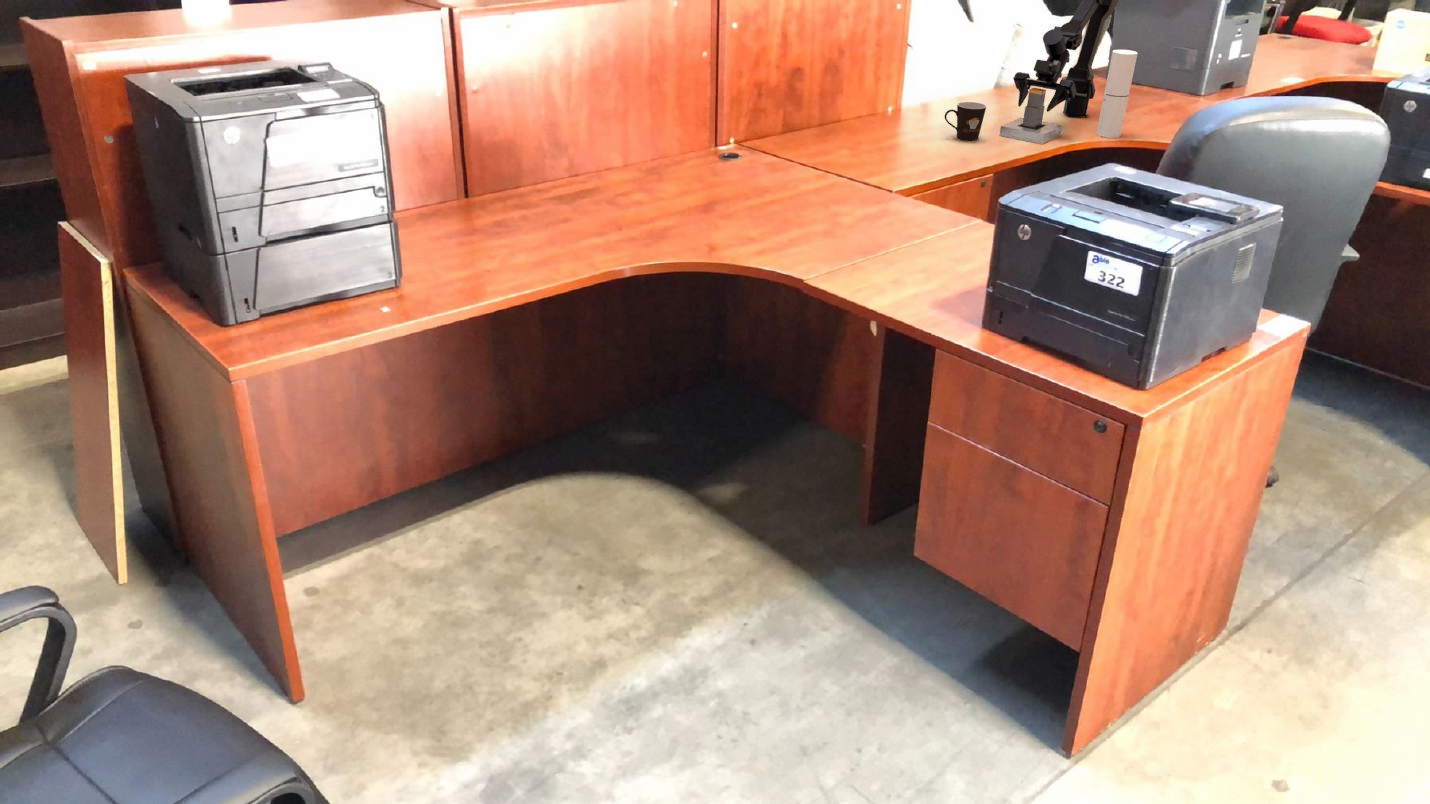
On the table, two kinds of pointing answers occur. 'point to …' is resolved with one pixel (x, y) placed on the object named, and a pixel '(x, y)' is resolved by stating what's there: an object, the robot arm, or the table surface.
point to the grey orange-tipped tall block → (1034, 109)
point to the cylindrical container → (1116, 93)
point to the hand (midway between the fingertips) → (1033, 108)
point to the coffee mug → (968, 120)
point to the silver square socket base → (1030, 131)
